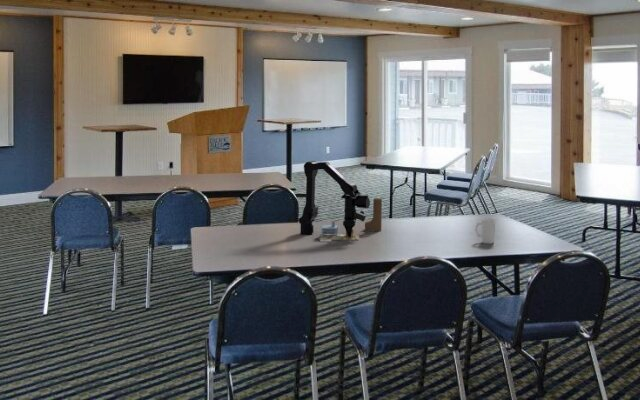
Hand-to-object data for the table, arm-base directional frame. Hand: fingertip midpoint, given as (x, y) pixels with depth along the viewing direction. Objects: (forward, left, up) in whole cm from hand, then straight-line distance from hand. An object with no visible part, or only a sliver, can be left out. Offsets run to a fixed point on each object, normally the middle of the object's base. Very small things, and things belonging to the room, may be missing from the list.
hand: (349, 236), depth 384 cm
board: (-6, 0, -1) cm, 6 cm away
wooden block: (+12, +23, -1) cm, 26 cm away
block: (0, 0, -1) cm, 1 cm away
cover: (-11, 0, 0) cm, 11 cm away
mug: (+70, -3, -1) cm, 70 cm away
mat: (-12, -8, -1) cm, 15 cm away
